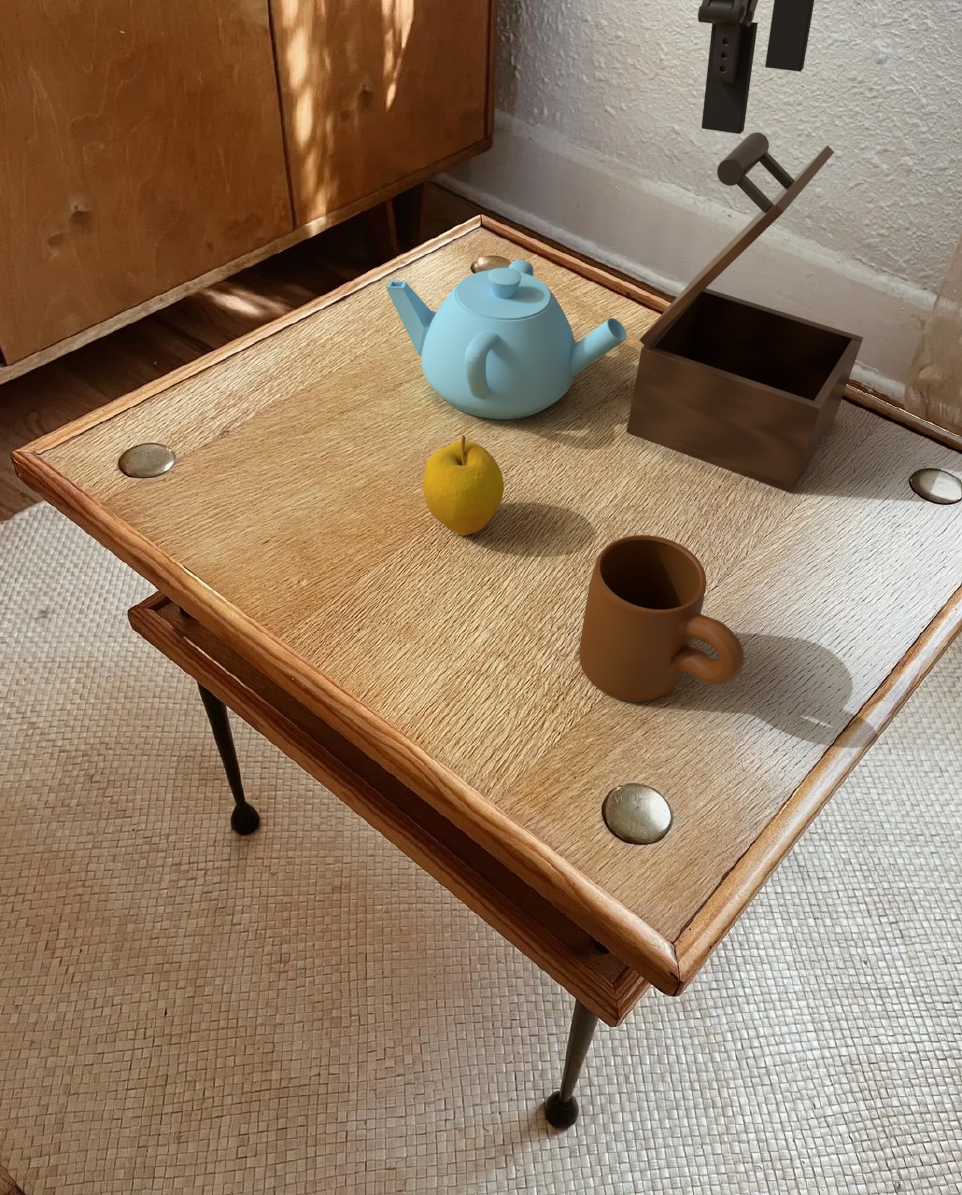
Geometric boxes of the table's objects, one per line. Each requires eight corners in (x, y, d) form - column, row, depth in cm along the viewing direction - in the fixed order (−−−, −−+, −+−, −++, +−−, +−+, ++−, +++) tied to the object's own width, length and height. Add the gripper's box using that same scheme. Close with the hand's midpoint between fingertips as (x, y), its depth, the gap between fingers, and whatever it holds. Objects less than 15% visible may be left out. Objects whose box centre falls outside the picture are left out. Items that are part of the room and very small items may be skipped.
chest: (834, 419, 96) (863, 337, 89) (791, 493, 88) (820, 409, 82) (679, 366, 101) (696, 285, 94) (626, 432, 93) (641, 348, 87)
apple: (466, 488, 87) (469, 410, 81) (516, 528, 83) (523, 450, 78) (406, 519, 84) (404, 441, 78) (455, 562, 80) (458, 484, 75)
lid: (834, 152, 81) (783, 98, 81) (783, 212, 73) (726, 153, 73) (700, 283, 94) (656, 238, 93) (645, 347, 86) (596, 297, 86)
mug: (752, 708, 72) (787, 617, 65) (680, 766, 68) (708, 676, 61) (627, 610, 78) (647, 517, 71) (555, 658, 74) (568, 565, 67)
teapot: (485, 460, 89) (492, 348, 81) (383, 364, 99) (380, 255, 91) (621, 406, 96) (639, 297, 88) (513, 321, 105) (520, 216, 97)
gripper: (806, -312, 68) (759, 41, 82) (664, -275, 52) (637, 151, 67) (924, -315, 65) (854, 51, 79) (810, -277, 49) (749, 168, 64)
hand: (754, 97), depth 73 cm, fingers open, 13 cm apart
